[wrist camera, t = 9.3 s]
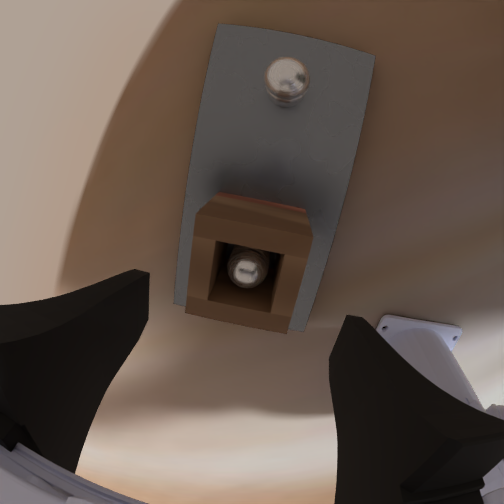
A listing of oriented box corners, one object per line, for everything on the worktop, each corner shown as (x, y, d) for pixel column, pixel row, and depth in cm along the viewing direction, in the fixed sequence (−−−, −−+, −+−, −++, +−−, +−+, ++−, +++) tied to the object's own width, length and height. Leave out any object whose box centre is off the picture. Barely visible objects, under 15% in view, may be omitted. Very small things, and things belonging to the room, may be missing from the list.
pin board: (302, 322, 22) (307, 378, 16) (178, 295, 22) (149, 344, 16) (370, 60, 15) (404, 33, 9) (221, 29, 15) (197, -8, 10)
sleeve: (286, 286, 19) (286, 333, 15) (207, 270, 19) (185, 312, 15) (305, 209, 17) (313, 237, 13) (218, 192, 18) (195, 213, 13)
